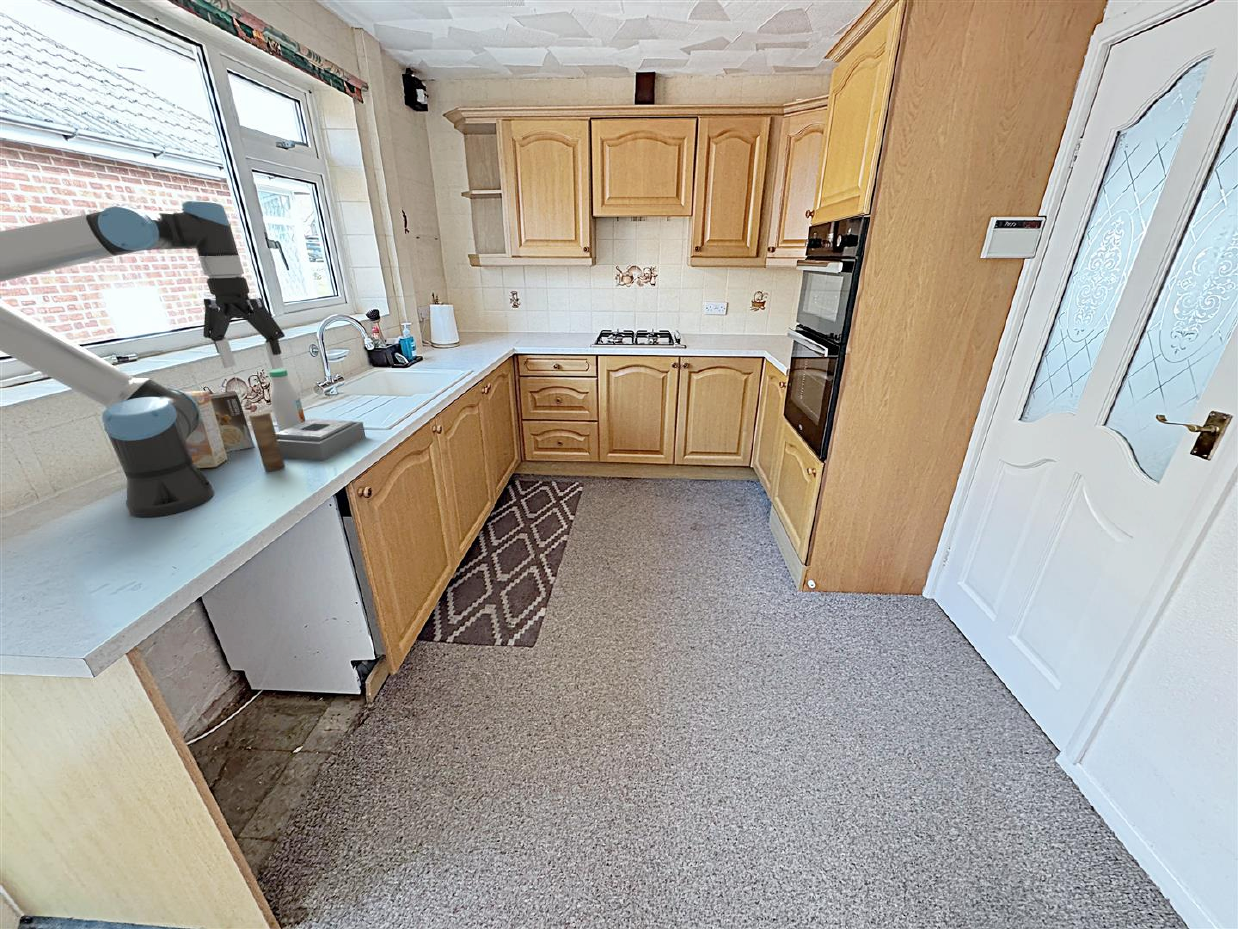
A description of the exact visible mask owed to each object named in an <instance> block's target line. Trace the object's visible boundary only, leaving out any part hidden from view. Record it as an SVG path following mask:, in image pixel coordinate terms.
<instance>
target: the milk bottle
mask: <svg viewBox="0 0 1238 929" xmlns="http://www.w3.org/2000/svg"><path fill="white" fill-rule="evenodd" d="M268 375H269V378H270V379H271V383H272V384H271V389H270V394H269V396H270V403H271V407H272V411H273V415H274V418H275V423H276V426H277V430H278V432H281V431H283V430H285V429H288V428H290V427H292V426H295V425H297V424H299V423H302V422H304V421H306V417H305V413H304V409H303V405H302V402H301V398H300V396H299V393H298V391H297V389H296V388H295V387H294V386H293V384H292V383H291V382H290V379H289V376H288V375H289V374H288V370H287V369H284V368H283V369H282V368H277V369H271V370H269V372H268Z"/></svg>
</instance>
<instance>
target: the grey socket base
mask: <svg viewBox="0 0 1238 929" xmlns="http://www.w3.org/2000/svg"><path fill="white" fill-rule="evenodd" d="M351 421H352V422H353V425H352V426H350V427H348V428H346V429H344V430H342V431H340V432H338V433H336V434H334V435H332V436H330V437H328V438H326V439H324V440H322V441H320V442H308V441H294V440H279V439H277V440H278V443H279V447H280V451H281V454H282V458H286V459H295V460H297V459H298V460H299V459H300V460H312V461H323V460H324V461H325V460H327V459H329V458H331V457H333V456H334V454H335V455H336V454H338V453H340V452H341V451H343V450H346V449H347V448H349V447H351V446H353V445H354V444H356V443H358V442H360V441H362V440H363V439H365V438H366V433H365V428H364V427H365V426H364V421H353V420H351ZM332 455H333V456H332Z"/></svg>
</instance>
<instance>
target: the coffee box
mask: <svg viewBox="0 0 1238 929" xmlns="http://www.w3.org/2000/svg"><path fill="white" fill-rule="evenodd" d="M209 394H210V398H211V402H212V405H213V409H214V413H215V416H216V420H217V423H218V427H219V430H220V434H221V438H222V441H223V445H224V448H225V452H227V453H231V452H230V451H232V452H236V451H235V450H237V451H240V449H242V450H246V449H251V448H254V447H255V443H254V441H253V438H252V433H251V431H250V428H249V425H248V421H247V418H246V415H245V413H244V410H243V406H242V404H241V400H240V398H239V395H238V393H237V392H236V391H235V390H230V391H223V392H215V393H209ZM245 448H246V449H245Z"/></svg>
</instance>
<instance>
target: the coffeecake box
mask: <svg viewBox="0 0 1238 929" xmlns="http://www.w3.org/2000/svg"><path fill="white" fill-rule="evenodd" d="M184 392H185V393H187V394H188V395H190V396H191V397H192V398H193V399H194V400H195V401H196V403H197V404H198V406H199V409H200V414H201V415H200V421H199V424H198V426H197V428H196V429H195V430H194V431H193V433H191V434H190V435H189V437H188V438H187V439H186V443H187V446H188V449H189V451H190V454H191V457H192V460H193V463H194V465H195V466H196V467H197V468H198V469H204V468H215V467H218V466H220V465H221V464H222V463H225V462H226V461H227V460H228V457H227V453H226V452H225V448H224V445H223V441H222V438H221V434H220V430H219V427H218V423H217V420H216V416H215V413H214V409H213V405H212V402H211V398H210V394H211V393H210V391H209V390H194V391H184ZM225 460H226V461H225Z"/></svg>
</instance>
